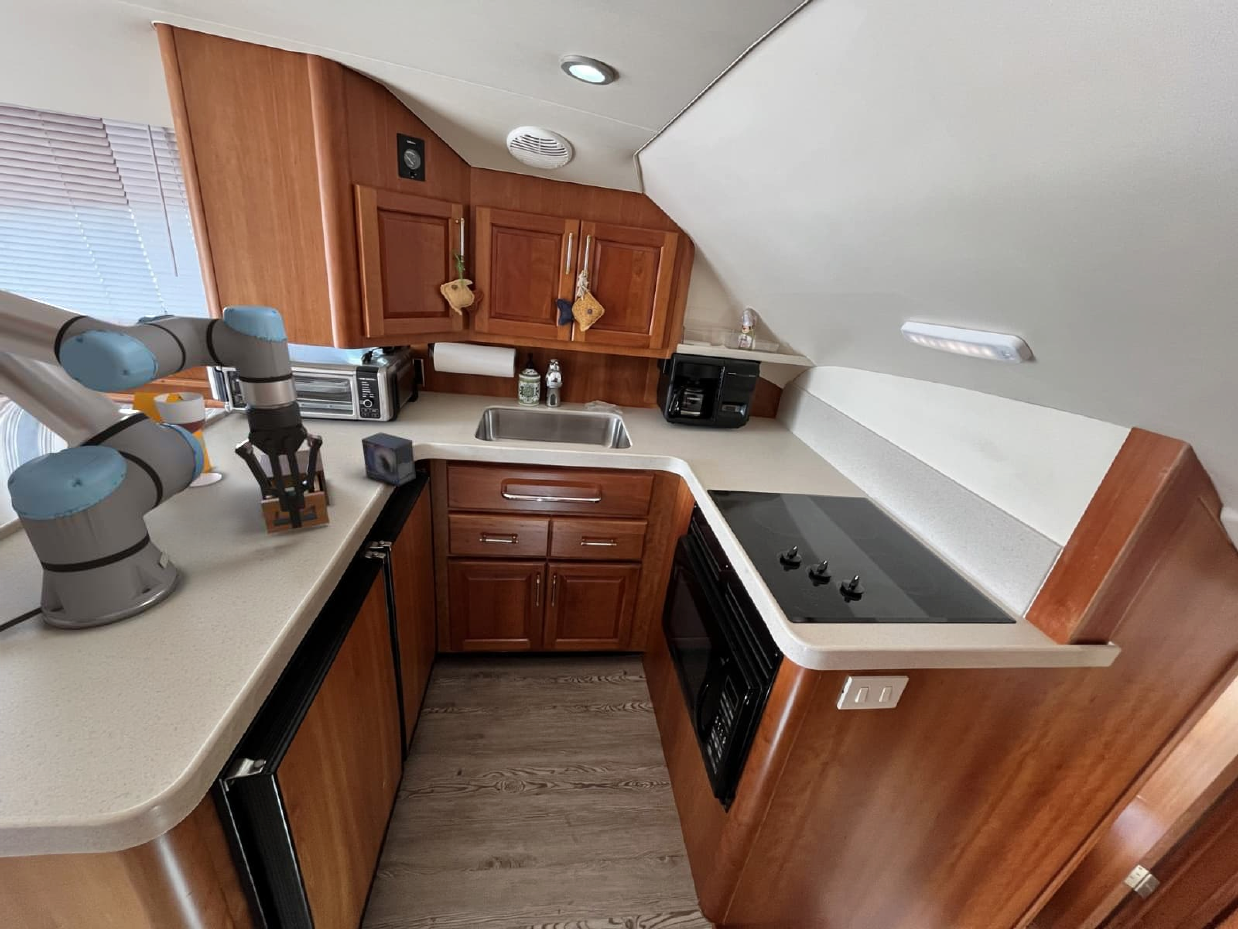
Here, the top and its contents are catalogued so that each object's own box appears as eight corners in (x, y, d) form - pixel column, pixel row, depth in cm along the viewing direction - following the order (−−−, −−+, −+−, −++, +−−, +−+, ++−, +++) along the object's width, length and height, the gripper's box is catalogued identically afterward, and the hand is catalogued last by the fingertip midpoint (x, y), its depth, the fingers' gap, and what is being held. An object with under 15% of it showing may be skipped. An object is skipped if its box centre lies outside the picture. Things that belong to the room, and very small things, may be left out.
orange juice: (171, 467, 120) (147, 387, 112) (212, 468, 121) (191, 389, 113) (148, 481, 113) (120, 396, 105) (191, 481, 114) (167, 398, 106)
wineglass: (194, 490, 110) (170, 404, 103) (170, 481, 113) (144, 397, 105) (231, 477, 117) (211, 396, 110) (207, 469, 120) (186, 390, 112)
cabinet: (329, 505, 109) (323, 470, 106) (266, 515, 103) (257, 478, 100) (325, 481, 119) (319, 448, 116) (267, 489, 113) (260, 455, 110)
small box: (364, 477, 123) (359, 438, 119) (384, 469, 128) (380, 431, 124) (397, 487, 119) (393, 447, 115) (417, 478, 125) (413, 439, 121)
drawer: (331, 534, 97) (325, 504, 94) (267, 546, 91) (260, 514, 89) (325, 497, 110) (320, 470, 108) (269, 506, 105) (262, 477, 102)
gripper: (315, 394, 88) (335, 509, 98) (225, 399, 82) (255, 522, 91) (317, 405, 83) (338, 526, 92) (220, 412, 76) (253, 542, 85)
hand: (297, 524), depth 91 cm, fingers closed
